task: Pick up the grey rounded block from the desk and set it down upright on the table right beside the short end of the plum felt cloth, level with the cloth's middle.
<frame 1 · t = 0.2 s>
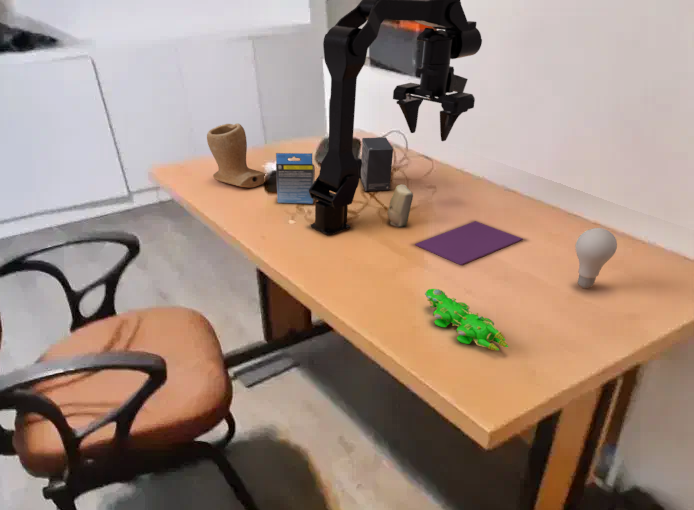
hand: (427, 136, 141), 14 cm above the table, tool pointing down, fingers open, 9 cm apart
tape cartridge: (296, 201, 153), on the table
felt cloth: (468, 242, 128), on the table
grey rounded block: (399, 224, 138), on the table
tan boot-shaped vase: (236, 183, 167), on the table
small box: (374, 184, 159), on the table
lightbulb: (584, 288, 110), on the table
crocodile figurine: (461, 330, 101), on the table
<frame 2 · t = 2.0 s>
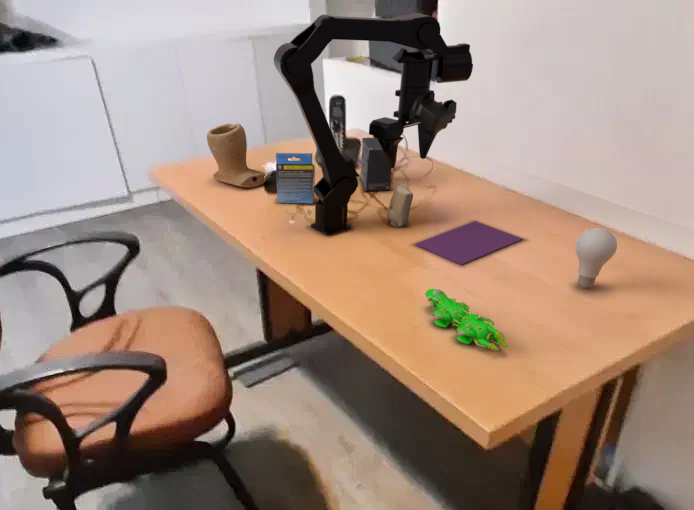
hand: (407, 163, 133), 13 cm above the table, tool pointing down, fingers open, 9 cm apart
nothing on the table moved.
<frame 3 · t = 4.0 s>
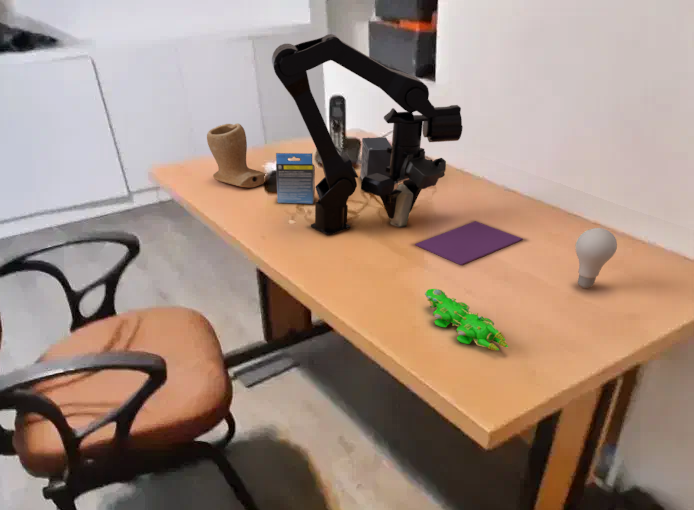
hand: (399, 215, 137), 2 cm above the table, tool pointing down, fingers closed on grey rounded block, 5 cm apart
grey rounded block: (399, 224, 138), on the table, touching gripper
everything else where it was.
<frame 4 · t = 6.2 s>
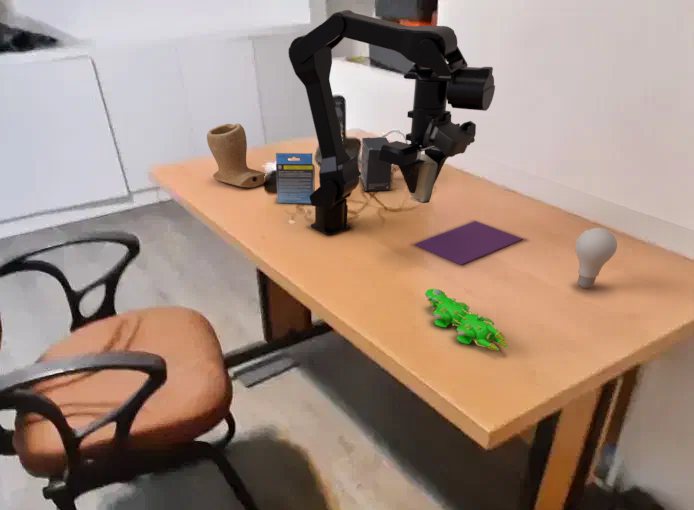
hand: (421, 189, 121), 12 cm above the table, tool pointing down, fingers closed on grey rounded block, 5 cm apart
grey rounded block: (421, 199, 122), point 10 cm above the table, touching gripper
everything else where it was.
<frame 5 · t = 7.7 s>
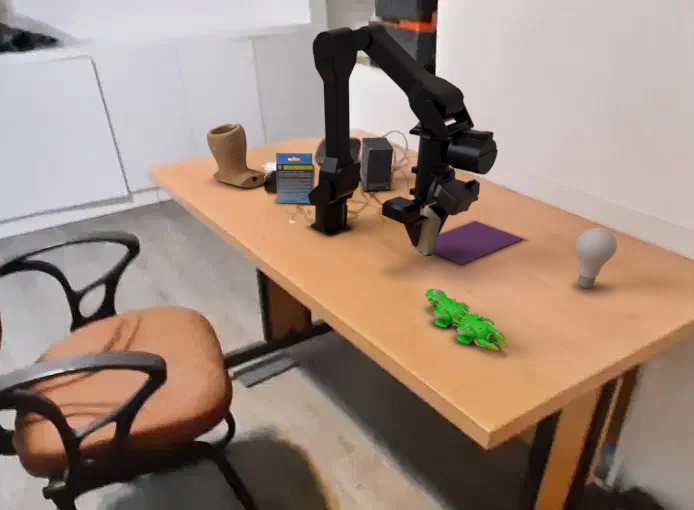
hand: (424, 242, 120), 4 cm above the table, tool pointing down, fingers closed on grey rounded block, 5 cm apart
grey rounded block: (424, 252, 122), point 2 cm above the table, touching gripper
everything else where it was.
when the fingers open (2 cm above the table, at t = 8.7 s): grey rounded block stays where it is, on the table.
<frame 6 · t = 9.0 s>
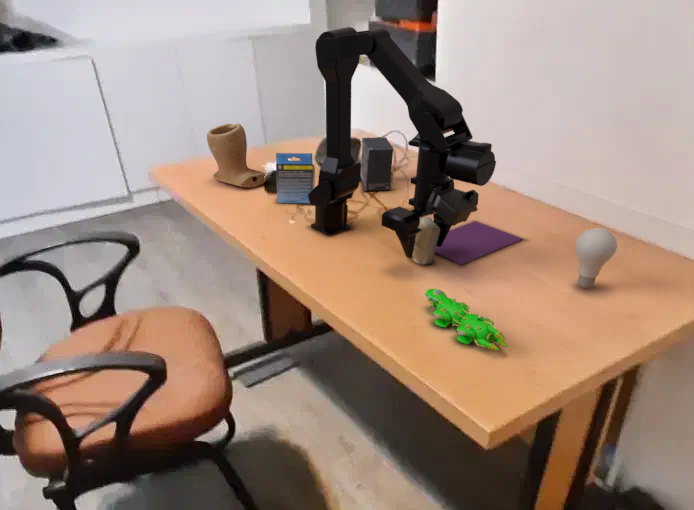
hand: (423, 251, 121), 2 cm above the table, tool pointing down, fingers open, 8 cm apart
grey rounded block: (423, 260, 123), on the table
everything else where it was.
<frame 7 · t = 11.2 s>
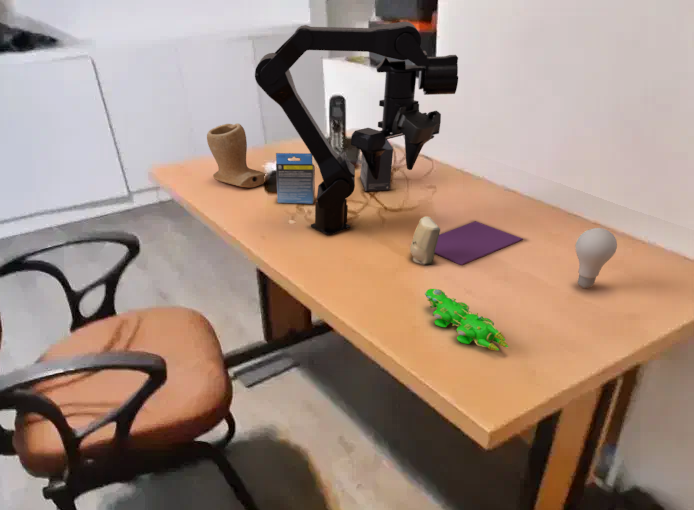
hand: (392, 174, 130), 12 cm above the table, tool pointing down, fingers open, 9 cm apart
nothing on the table moved.
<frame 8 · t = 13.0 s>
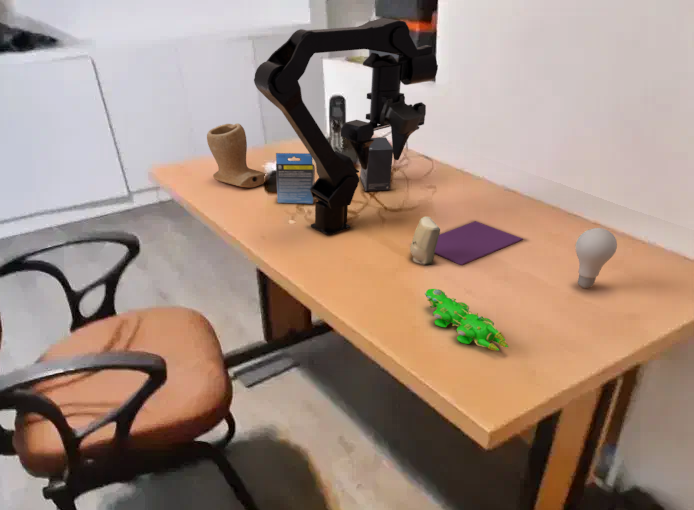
hand: (380, 164, 135), 12 cm above the table, tool pointing down, fingers open, 9 cm apart
nothing on the table moved.
at the end: grey rounded block inside the target area on the table beside the felt cloth (1.4 cm from its centre), on the table; grey rounded block tilted 0°; the gripper is holding nothing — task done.
